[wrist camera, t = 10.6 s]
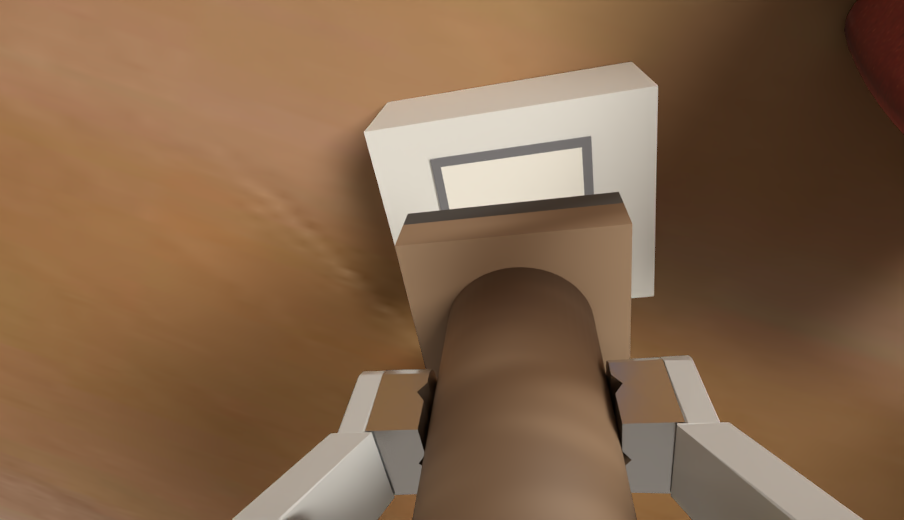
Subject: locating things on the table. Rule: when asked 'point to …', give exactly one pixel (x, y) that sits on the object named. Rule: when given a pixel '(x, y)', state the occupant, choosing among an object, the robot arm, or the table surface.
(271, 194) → the table surface
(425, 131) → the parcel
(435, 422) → the stamp
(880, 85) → the plant pot
